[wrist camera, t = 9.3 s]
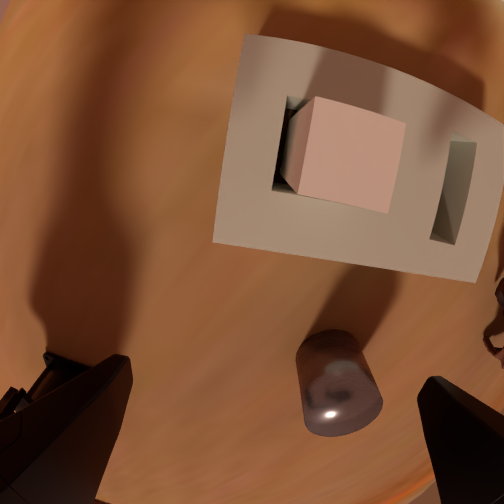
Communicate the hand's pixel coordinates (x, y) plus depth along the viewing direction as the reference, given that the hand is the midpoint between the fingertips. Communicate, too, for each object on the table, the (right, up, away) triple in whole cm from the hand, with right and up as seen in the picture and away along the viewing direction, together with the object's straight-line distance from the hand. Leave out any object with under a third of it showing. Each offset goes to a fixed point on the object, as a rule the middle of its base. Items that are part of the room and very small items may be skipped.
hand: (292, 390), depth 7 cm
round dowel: (+5, -4, +14) cm, 15 cm away
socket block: (+6, +9, +9) cm, 14 cm away
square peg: (+2, +9, +9) cm, 13 cm away
